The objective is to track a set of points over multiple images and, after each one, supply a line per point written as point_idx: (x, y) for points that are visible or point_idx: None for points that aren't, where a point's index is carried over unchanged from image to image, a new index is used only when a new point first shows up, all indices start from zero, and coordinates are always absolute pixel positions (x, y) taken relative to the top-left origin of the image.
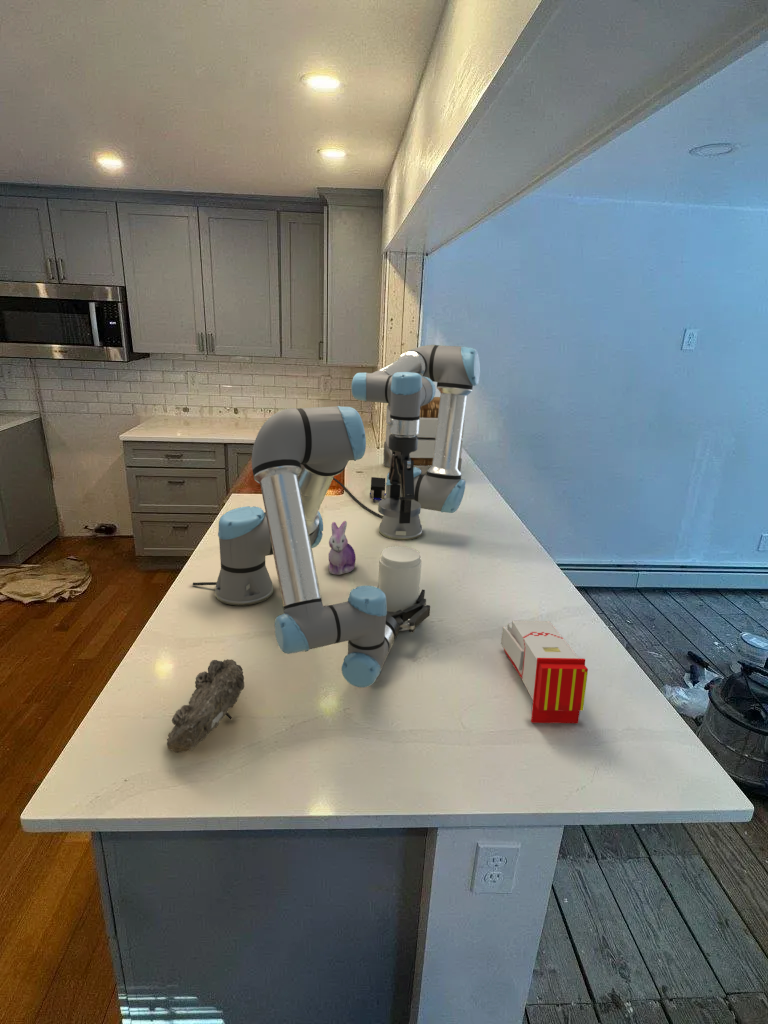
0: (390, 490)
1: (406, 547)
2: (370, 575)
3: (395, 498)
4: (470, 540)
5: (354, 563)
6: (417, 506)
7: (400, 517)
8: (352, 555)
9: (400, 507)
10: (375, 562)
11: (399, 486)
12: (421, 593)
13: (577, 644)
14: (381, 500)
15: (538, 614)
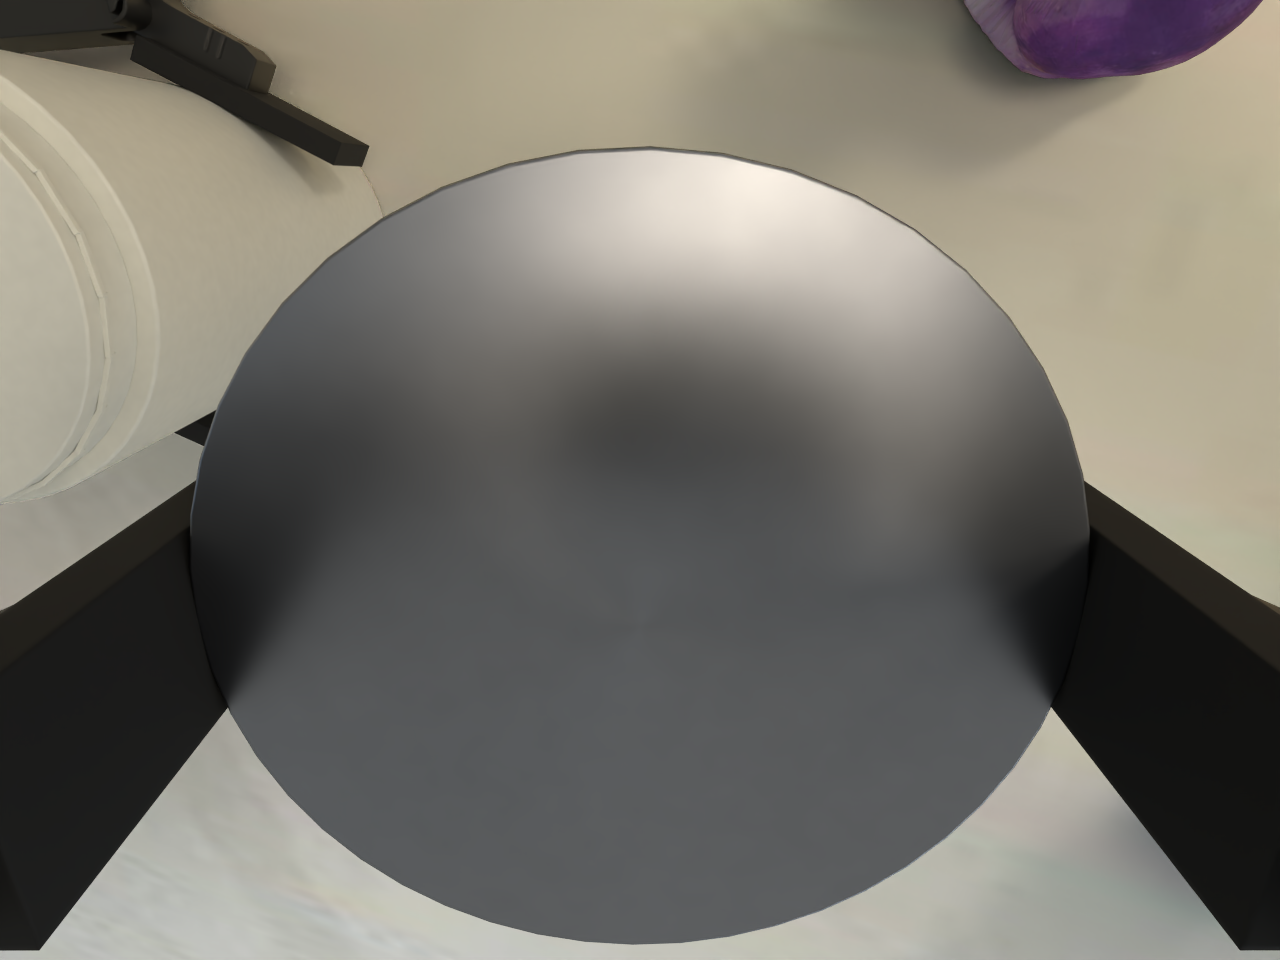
0: (1222, 622)
1: (51, 411)
2: (889, 187)
3: (1012, 627)
4: (1196, 905)
5: (1034, 66)
6: (483, 881)
7: (184, 498)
8: (1069, 30)
9: (70, 583)
10: (1087, 269)
11: (1229, 907)
12: None
13: (99, 942)
14: (948, 290)
15: (335, 907)
